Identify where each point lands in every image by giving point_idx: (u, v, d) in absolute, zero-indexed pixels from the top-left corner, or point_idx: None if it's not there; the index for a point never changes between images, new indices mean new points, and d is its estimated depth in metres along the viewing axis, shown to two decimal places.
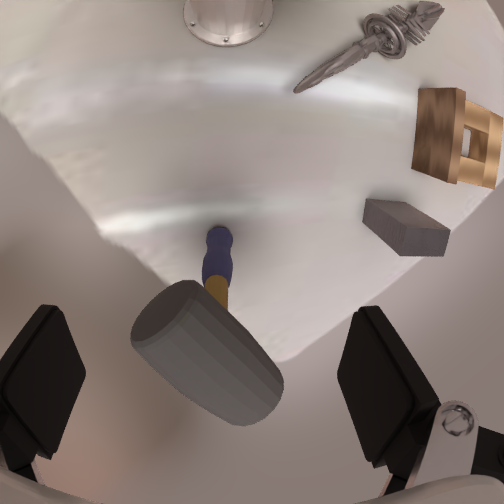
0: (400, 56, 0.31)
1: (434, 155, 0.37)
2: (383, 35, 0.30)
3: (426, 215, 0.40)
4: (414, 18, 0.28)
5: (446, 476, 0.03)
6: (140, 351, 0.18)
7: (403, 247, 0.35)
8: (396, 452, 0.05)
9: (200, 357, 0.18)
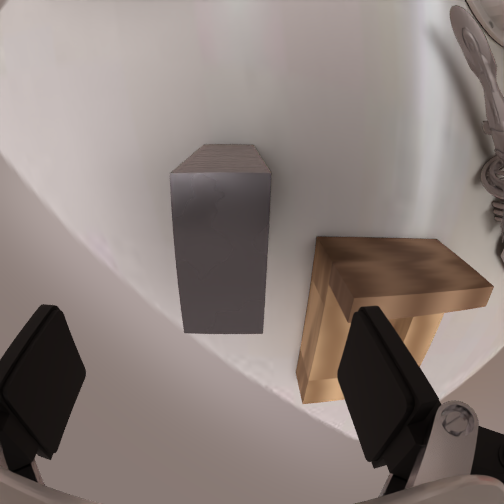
0: (498, 193, 0.21)
1: (374, 267, 0.22)
2: None
3: None
4: None
5: (446, 476, 0.03)
6: None
7: (201, 180, 0.11)
8: (396, 452, 0.05)
9: None
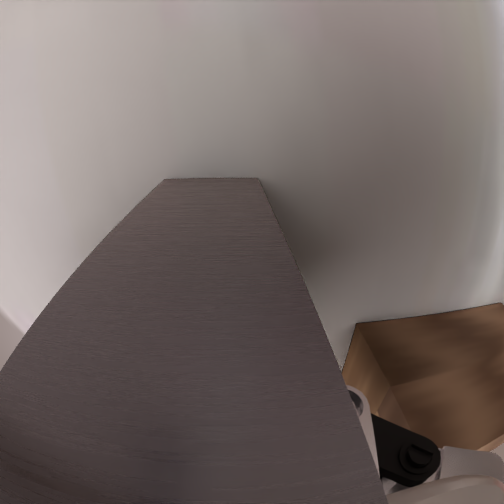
0: None
1: (449, 387, 0.11)
2: None
3: None
4: None
5: None
6: None
7: None
8: None
9: None
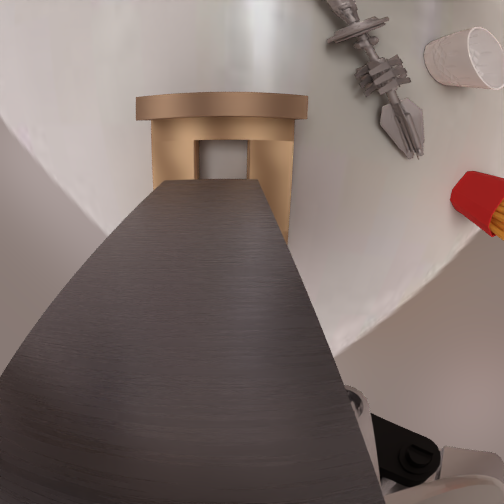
0: (333, 36, 0.24)
1: None
2: None
3: None
4: (395, 80, 0.26)
5: None
6: None
7: None
8: None
9: None
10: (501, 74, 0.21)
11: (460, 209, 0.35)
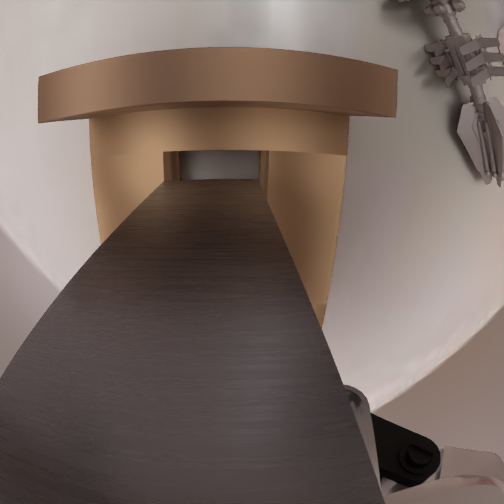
0: None
1: None
2: None
3: None
4: (486, 69, 0.13)
5: None
6: None
7: None
8: None
9: None
10: None
11: None
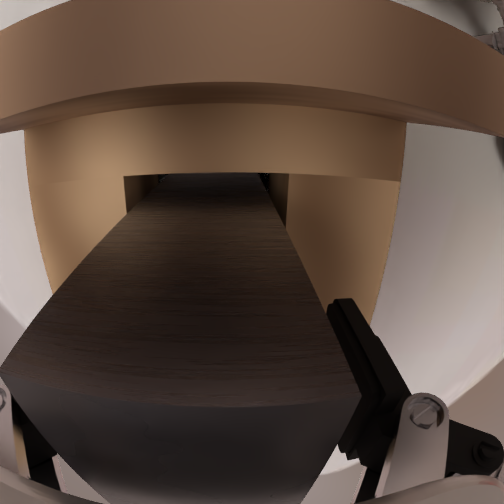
0: None
1: None
2: None
3: None
4: None
5: (409, 468, 0.04)
6: None
7: (90, 410, 0.02)
8: (366, 443, 0.06)
9: None
10: None
11: None
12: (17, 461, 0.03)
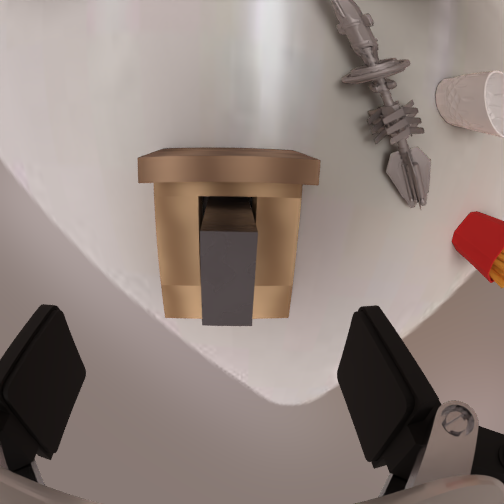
0: (350, 78, 0.24)
1: None
2: (378, 64, 0.23)
3: None
4: (408, 129, 0.26)
5: (446, 476, 0.03)
6: None
7: (218, 235, 0.21)
8: (396, 452, 0.05)
9: None
10: None
11: (461, 252, 0.36)
12: None
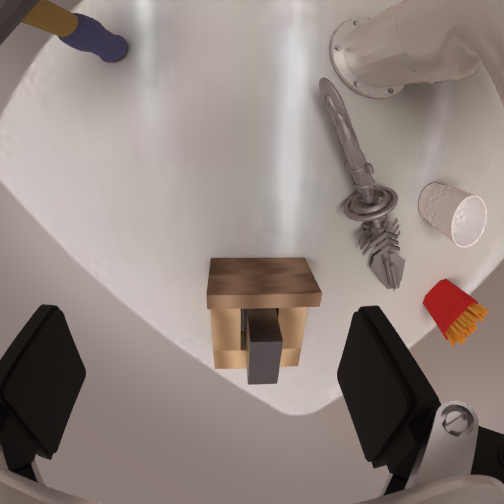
0: (349, 215, 0.38)
1: (233, 278, 0.39)
2: (372, 200, 0.37)
3: None
4: (388, 245, 0.40)
5: (446, 476, 0.03)
6: None
7: (260, 343, 0.35)
8: (396, 452, 0.05)
9: None
10: (479, 227, 0.35)
11: None
12: None
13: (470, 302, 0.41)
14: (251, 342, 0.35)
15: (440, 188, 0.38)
